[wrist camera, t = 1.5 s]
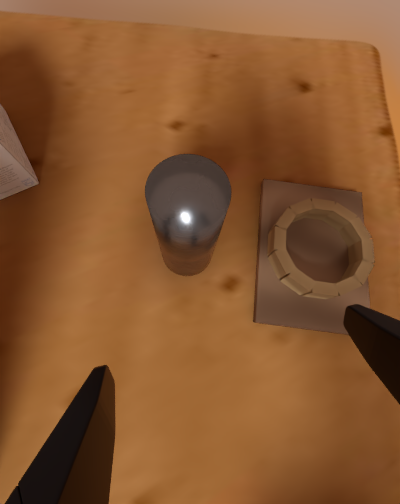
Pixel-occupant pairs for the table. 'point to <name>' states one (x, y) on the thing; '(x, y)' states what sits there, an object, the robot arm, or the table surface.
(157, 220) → the hinge pin
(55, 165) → the table surface
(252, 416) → the table surface
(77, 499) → the robot arm
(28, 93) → the table surface
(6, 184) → the light bulb box
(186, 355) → the table surface
